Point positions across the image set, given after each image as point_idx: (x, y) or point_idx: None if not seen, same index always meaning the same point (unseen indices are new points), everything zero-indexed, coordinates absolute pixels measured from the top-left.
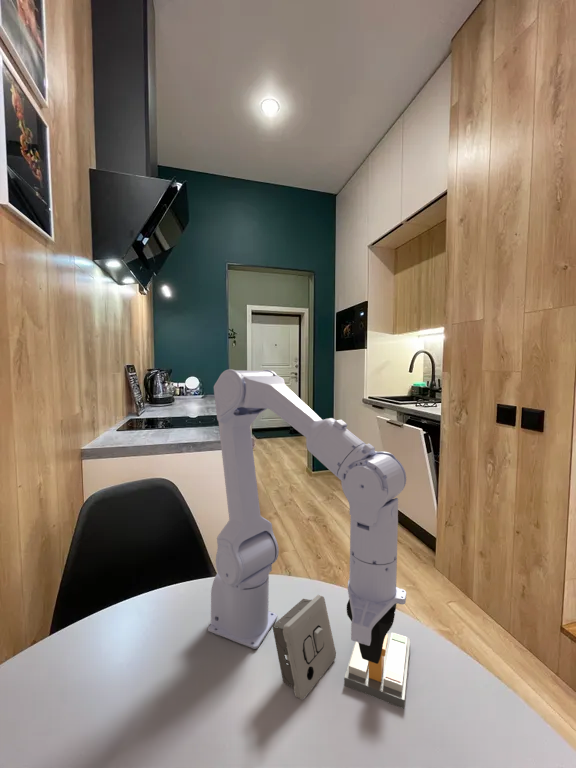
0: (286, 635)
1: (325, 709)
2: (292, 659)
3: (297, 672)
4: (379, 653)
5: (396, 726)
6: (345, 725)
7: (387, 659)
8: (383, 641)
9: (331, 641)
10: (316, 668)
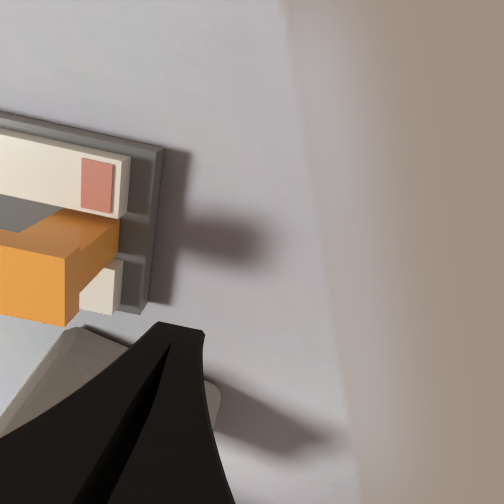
0: None
1: (223, 339)
2: None
3: None
4: (201, 366)
5: (222, 176)
6: (250, 298)
7: (36, 199)
8: (209, 429)
9: (53, 368)
10: None
